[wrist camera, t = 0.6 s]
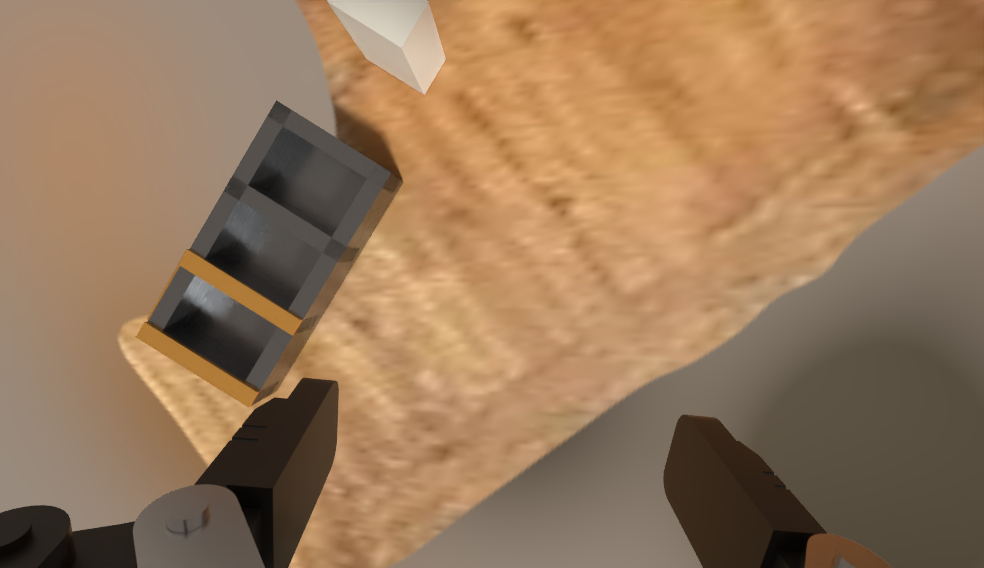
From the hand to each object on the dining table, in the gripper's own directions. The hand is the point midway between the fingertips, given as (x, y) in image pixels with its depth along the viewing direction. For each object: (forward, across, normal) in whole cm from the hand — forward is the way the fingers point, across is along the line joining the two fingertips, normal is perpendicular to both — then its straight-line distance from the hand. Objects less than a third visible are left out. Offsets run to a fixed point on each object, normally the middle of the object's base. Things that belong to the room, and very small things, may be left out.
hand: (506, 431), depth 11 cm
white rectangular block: (+29, +7, -11) cm, 32 cm away
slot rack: (+26, +14, +4) cm, 30 cm away
